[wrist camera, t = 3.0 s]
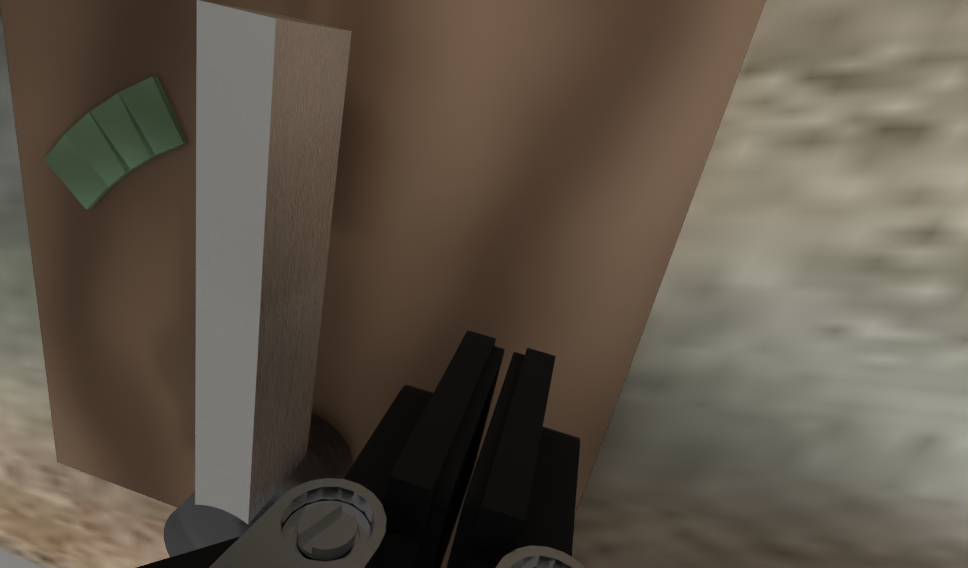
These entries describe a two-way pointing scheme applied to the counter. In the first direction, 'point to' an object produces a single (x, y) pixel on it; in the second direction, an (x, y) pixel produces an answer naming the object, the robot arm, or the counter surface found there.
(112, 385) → the dial board
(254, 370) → the dial pointer
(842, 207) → the counter surface
